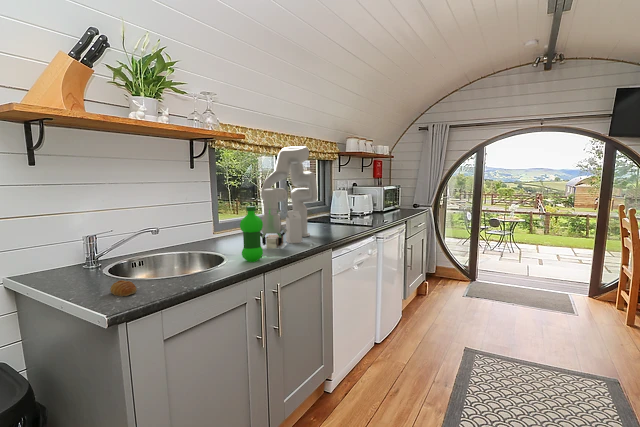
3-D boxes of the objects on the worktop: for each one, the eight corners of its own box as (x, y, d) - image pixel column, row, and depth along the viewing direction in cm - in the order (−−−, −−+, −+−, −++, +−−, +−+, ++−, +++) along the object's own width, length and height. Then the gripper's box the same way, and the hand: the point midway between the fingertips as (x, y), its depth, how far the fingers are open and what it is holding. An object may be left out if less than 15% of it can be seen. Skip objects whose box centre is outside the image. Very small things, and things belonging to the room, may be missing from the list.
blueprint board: (265, 245, 195) (265, 243, 195) (287, 244, 194) (287, 243, 194) (258, 250, 179) (258, 248, 179) (283, 250, 178) (283, 248, 178)
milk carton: (286, 243, 200) (285, 211, 198) (297, 242, 202) (296, 210, 201) (290, 245, 193) (289, 211, 191) (302, 244, 196) (301, 211, 194)
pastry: (142, 293, 113) (141, 282, 113) (121, 299, 108) (120, 287, 107) (128, 288, 119) (128, 277, 118) (108, 294, 113) (107, 282, 113)
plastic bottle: (236, 261, 155) (234, 207, 152) (251, 257, 164) (249, 205, 161) (254, 264, 150) (252, 207, 147) (268, 259, 159) (266, 206, 157)
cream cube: (268, 246, 185) (268, 237, 184) (277, 246, 184) (277, 237, 184) (266, 248, 180) (266, 239, 179) (276, 248, 179) (275, 239, 179)
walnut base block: (269, 243, 194) (269, 234, 194) (283, 243, 194) (283, 234, 193) (266, 246, 186) (266, 237, 186) (280, 246, 186) (280, 237, 185)
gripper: (288, 211, 183) (289, 243, 185) (256, 211, 184) (257, 243, 186) (286, 212, 176) (287, 246, 177) (253, 213, 177) (254, 246, 179)
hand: (272, 244), depth 182 cm, fingers open, 7 cm apart
